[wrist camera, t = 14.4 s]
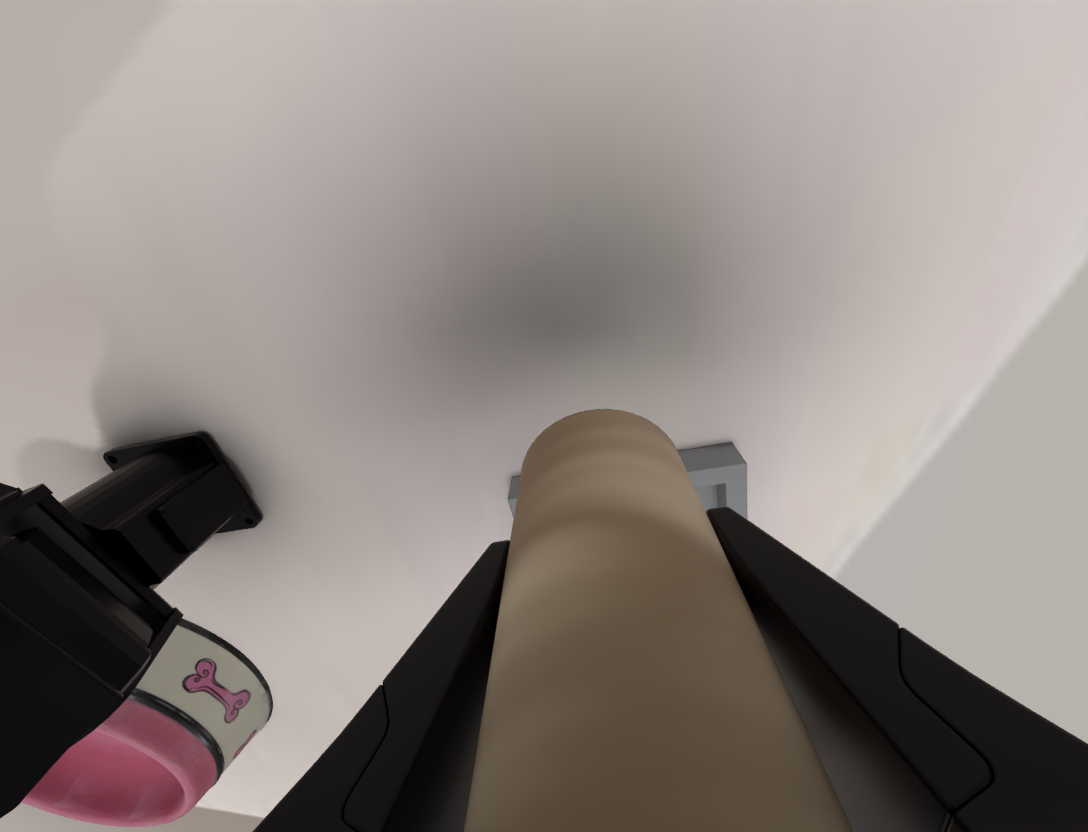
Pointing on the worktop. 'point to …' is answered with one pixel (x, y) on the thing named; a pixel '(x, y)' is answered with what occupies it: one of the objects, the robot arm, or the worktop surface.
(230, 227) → the worktop surface
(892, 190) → the worktop surface
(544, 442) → the dowel
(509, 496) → the tray
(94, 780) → the dog bowl
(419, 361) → the worktop surface
